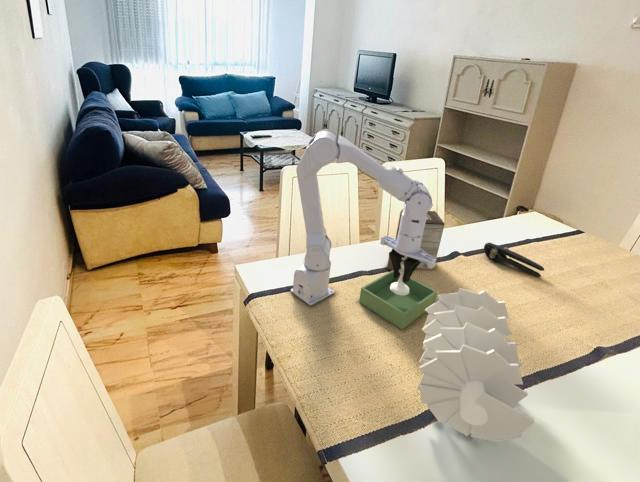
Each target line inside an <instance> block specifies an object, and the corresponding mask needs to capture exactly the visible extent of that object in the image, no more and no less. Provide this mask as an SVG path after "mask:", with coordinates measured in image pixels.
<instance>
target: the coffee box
mask: <svg viewBox="0 0 640 482" xmlns="http://www.w3.org/2000/svg"><path fill="white" fill-rule="evenodd" d="M445 225H446V223H445V222H444V221H443V220H442V218H441V217H440V216H439V214H438V213H437V212H436V210H429V211H428V212H427V216H426V223H425V227H424V232H423V237H422V241H421V246H420V248H421V249H422V250H423V251H425V252H426V253H427V254H429V255H430V256H431V257H433V258H435V259H436V260H437V258H438V253H439V249H440V245H441V241H442V237H443V236H442V235H443V233H444V228H445ZM416 269H423V270H425V269H426V270H434V269H435V266H434V267H432V268H429V267H427V265H426V264H424V263H422V262H421V263H420V264H419V265H418V266H417V268H416Z"/></svg>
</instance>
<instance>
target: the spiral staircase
mask: <svg viewBox="0 0 640 482" xmlns="http://www.w3.org/2000/svg"><path fill="white" fill-rule="evenodd" d="M437 298H438V300H437V301H435V303H434V304H432V305H430V306H429V307H427V308H426V309H425V311H426V312H425V313H427V314H428V315H427V317H426V319H425V323H424V325H423V327H422V329H421V331H422V332H423V333H425V336H424V340H423V342H422V343H423V344H422V350H423V353H422V355H421V357H420V359H419V361H418V363H419V364H421V365H419V369H420V371H421V378H420V380H419V382H418V385H417V387H416V389H417V390H418V391H420V403H421V404H424V405H426V407H427V408H428V410H429V411H430V412H431V413H432V415H433V416H434V417H435V419H436V420H437V421H438V422H439V423H440V424H443V423H445V425H447V426H448V427H450V428H452V429H453V430H455V431H456V432H458V433H460V434H462V435H464V437H469V436H470V437H471V438H474V439H478V440H479V439H480V440H484V441H489V442H493V443H499V442H500V441H507V440H512V439H519V438H523V435H522V434H523V433H524V432H525V431H526V430H527V429H529V428H530V427H531V426H532V425H533V424H535V423H536V422H535V419H534V418H532V417H530V416H529V415H526V414H525V413H523V412H521V411H519V410H517V409H516V408H515V405H517V404H518V403H520V402H521V401H523V400H524V399H525V398H526V397H528V396H529V393H528V392H527V391H525V390H524V389H522V388H520V387H518V386H517V385H524V382H523V379H522V378H523V377H522V375H521V370H520V367H521V366H522V365H523V362H522V360H519V355H518V347H517V346H518V341H517V342H516V341H514V340H512V339H510V338H508V337H506V336H512V335H513V333H512V331H511V328H510V326H509V323H508V320H507V319H510V317H509V313H508V309H507V306H506V302H505V300H502V301H501V300H500V301H499V300H497V299H495V298H494V297H493V296H492V295H491V294H490V293H488V292H487V291H486V290H485V289H483V290H482V291H480V292H476V291H472V290H471V289H466V288H462V287H459V288H458V290H457V292H447V293H437Z"/></svg>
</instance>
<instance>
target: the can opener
mask: <svg viewBox="0 0 640 482" xmlns="http://www.w3.org/2000/svg"><path fill="white" fill-rule="evenodd" d="M483 252H484V255H485V256H486V258H487V259H488V260H490V261H492V262H501V263H505V264H508V265H510V266H513V267H514V268H516V269H518V270H519V271H522V272H524V273H525V274H528V275H530V276H532V277H535V278H541V277H542V275H541V273H539V272H538V271H541V272H544V271H545V267H543V266H542V265H541V264H539V263H536V261H533V260H531V259H530V258H527V257H526V256H524V255H521V254H520V253H517V252H515V251H512V250H510V249H509V247H503V246H501V245H498V244H495V243H493V242H486V243H485V244H484V245H483ZM526 265H527V266H526ZM528 266H529V267H528ZM532 268H533V269H532ZM534 269H535V270H534ZM536 270H538V271H536Z"/></svg>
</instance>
